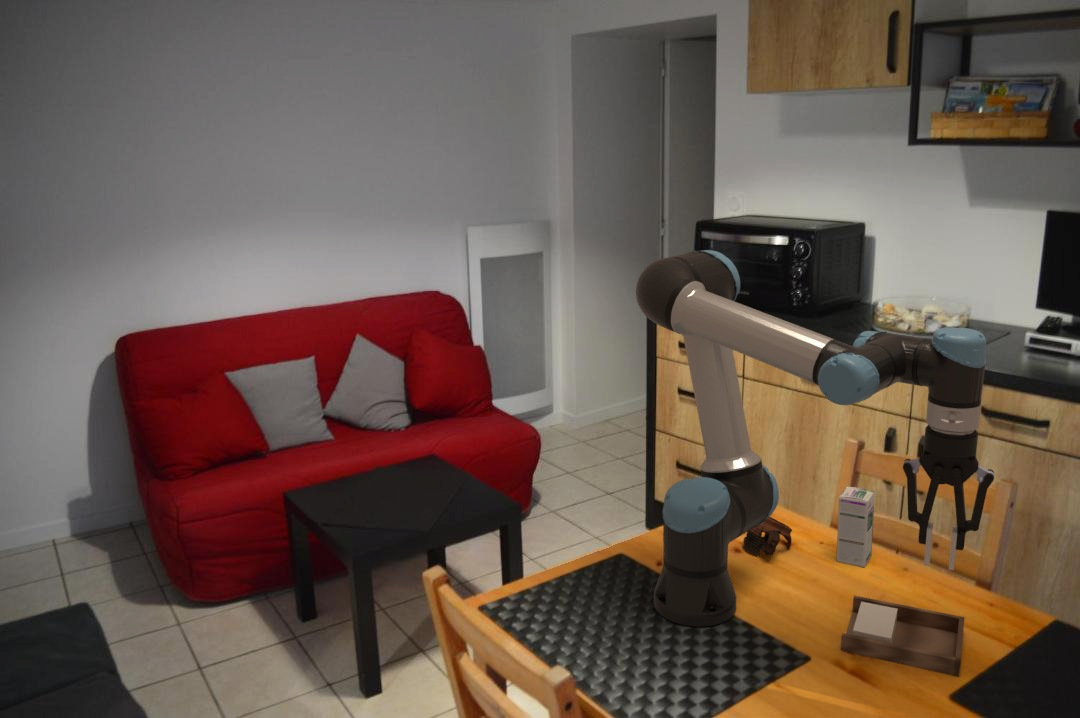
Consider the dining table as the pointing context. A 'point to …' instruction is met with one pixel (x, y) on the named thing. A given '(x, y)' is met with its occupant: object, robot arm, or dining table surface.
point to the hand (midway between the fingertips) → (939, 563)
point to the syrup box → (855, 526)
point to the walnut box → (912, 639)
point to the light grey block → (875, 622)
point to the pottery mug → (766, 537)
